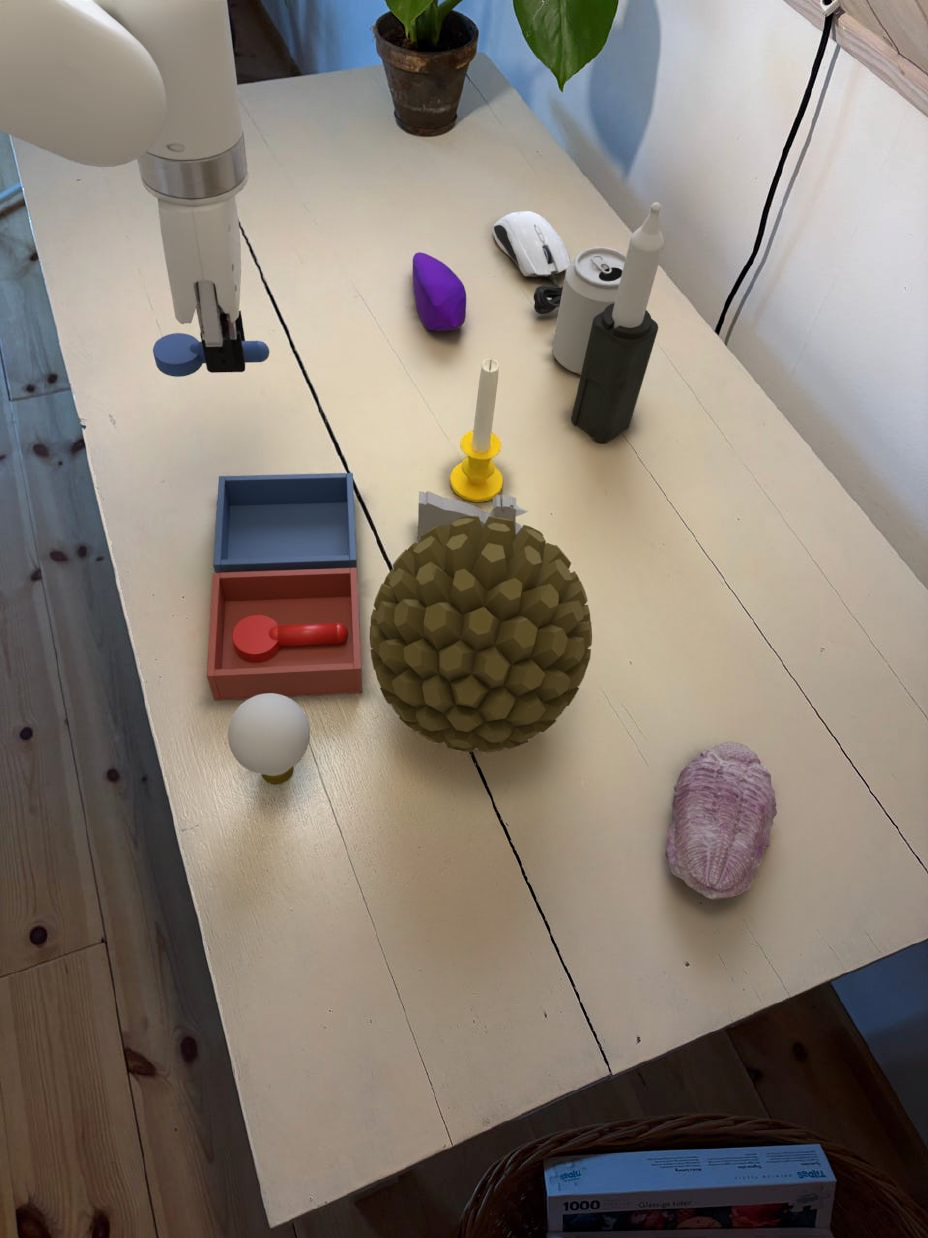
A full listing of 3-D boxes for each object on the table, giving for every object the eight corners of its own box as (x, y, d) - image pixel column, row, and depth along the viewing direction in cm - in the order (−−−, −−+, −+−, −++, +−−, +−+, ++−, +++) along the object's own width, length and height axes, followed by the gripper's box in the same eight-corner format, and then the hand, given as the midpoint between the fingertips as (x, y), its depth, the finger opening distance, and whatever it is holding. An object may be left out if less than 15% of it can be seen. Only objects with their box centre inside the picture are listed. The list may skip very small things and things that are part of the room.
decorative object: (394, 599, 85) (396, 441, 68) (579, 633, 84) (627, 482, 68) (349, 767, 75) (340, 632, 59) (557, 807, 75) (607, 682, 58)
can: (583, 390, 102) (604, 296, 92) (536, 351, 105) (552, 257, 95) (631, 362, 105) (657, 269, 95) (585, 326, 108) (605, 232, 98)
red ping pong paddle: (347, 619, 83) (347, 607, 81) (349, 658, 80) (348, 647, 79) (234, 624, 82) (232, 612, 80) (233, 664, 79) (230, 652, 78)
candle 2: (566, 418, 99) (614, 198, 78) (599, 397, 101) (654, 178, 80) (601, 446, 97) (660, 228, 76) (634, 424, 99) (699, 206, 79)
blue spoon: (270, 344, 84) (268, 327, 82) (270, 375, 81) (268, 358, 80) (157, 345, 82) (153, 329, 81) (154, 377, 80) (150, 360, 79)
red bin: (213, 700, 78) (206, 676, 75) (219, 599, 83) (212, 572, 80) (362, 693, 79) (361, 668, 76) (358, 593, 85) (356, 567, 82)
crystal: (436, 232, 109) (477, 302, 100) (436, 270, 113) (475, 342, 104) (396, 237, 108) (434, 309, 99) (397, 276, 112) (433, 348, 103)
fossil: (641, 890, 72) (657, 866, 67) (685, 736, 79) (701, 706, 75) (746, 931, 70) (769, 909, 66) (780, 770, 78) (802, 742, 74)
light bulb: (326, 752, 76) (319, 691, 68) (299, 818, 73) (288, 763, 65) (258, 731, 77) (243, 668, 68) (227, 795, 73) (208, 738, 65)
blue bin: (219, 592, 84) (213, 565, 81) (224, 504, 90) (218, 475, 86) (357, 586, 85) (356, 559, 82) (353, 500, 91) (352, 472, 88)
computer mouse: (537, 215, 119) (542, 185, 116) (612, 302, 110) (619, 273, 107) (466, 232, 116) (469, 202, 113) (538, 323, 107) (543, 293, 104)
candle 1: (501, 505, 92) (520, 383, 79) (448, 500, 92) (458, 377, 79) (503, 465, 95) (522, 341, 82) (451, 460, 95) (462, 335, 82)
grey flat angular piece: (418, 530, 90) (523, 535, 90) (417, 542, 89) (523, 546, 89) (419, 490, 85) (529, 495, 85) (418, 502, 84) (530, 507, 84)
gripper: (145, 96, 71) (187, 302, 86) (127, 223, 62) (177, 426, 77) (247, 98, 71) (271, 301, 87) (244, 223, 63) (271, 424, 78)
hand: (227, 358), depth 82 cm, fingers closed on blue spoon, 1 cm apart
